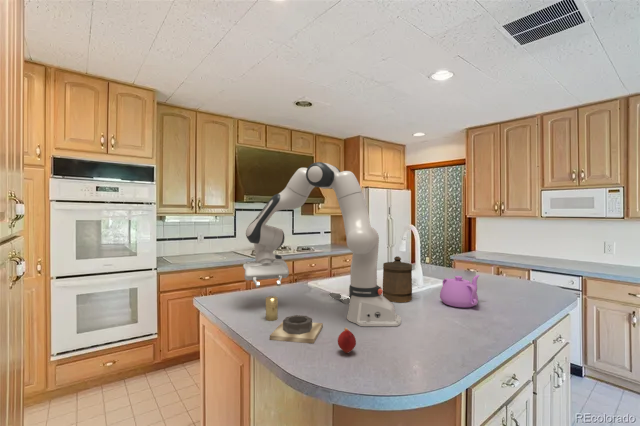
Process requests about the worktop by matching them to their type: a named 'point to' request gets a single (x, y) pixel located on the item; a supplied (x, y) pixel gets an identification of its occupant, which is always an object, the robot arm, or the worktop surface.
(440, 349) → the worktop surface
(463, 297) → the teapot
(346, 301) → the cloth
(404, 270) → the wooden container
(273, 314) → the brass cylinder peg
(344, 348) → the onion
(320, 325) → the jig board
